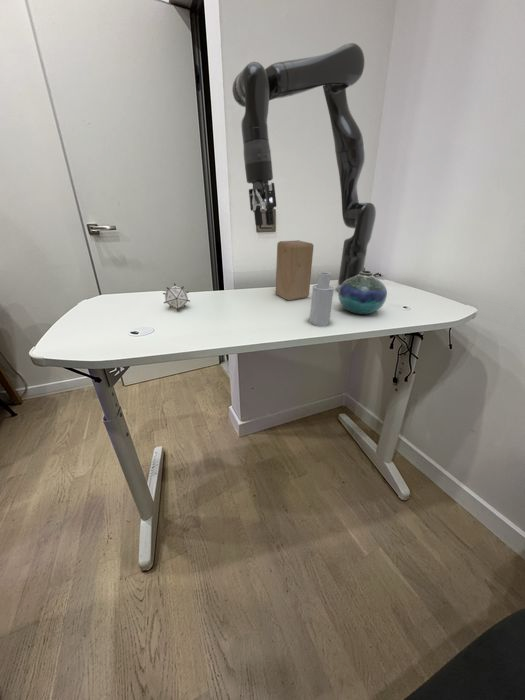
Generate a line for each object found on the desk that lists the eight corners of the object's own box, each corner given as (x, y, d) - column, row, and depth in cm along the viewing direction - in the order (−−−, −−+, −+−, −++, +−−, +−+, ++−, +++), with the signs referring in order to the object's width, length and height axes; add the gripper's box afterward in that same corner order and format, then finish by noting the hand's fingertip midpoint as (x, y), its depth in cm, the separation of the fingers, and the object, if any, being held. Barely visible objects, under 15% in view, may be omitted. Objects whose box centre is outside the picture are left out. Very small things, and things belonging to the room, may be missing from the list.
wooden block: (287, 301, 108) (291, 244, 98) (274, 294, 115) (276, 241, 106) (309, 298, 112) (314, 243, 102) (295, 291, 120) (299, 239, 110)
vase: (365, 302, 108) (372, 266, 102) (392, 317, 95) (402, 276, 89) (328, 305, 104) (333, 267, 98) (351, 321, 91) (358, 278, 85)
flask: (319, 317, 93) (325, 270, 87) (333, 323, 89) (340, 274, 82) (305, 320, 91) (309, 272, 84) (318, 327, 86) (324, 276, 79)
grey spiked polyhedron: (185, 318, 100) (199, 297, 96) (162, 316, 94) (177, 293, 89) (175, 300, 104) (189, 279, 99) (153, 296, 97) (167, 274, 93)
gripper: (281, 155, 76) (286, 223, 82) (260, 166, 88) (266, 224, 95) (254, 157, 73) (261, 226, 80) (237, 167, 85) (245, 227, 92)
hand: (264, 225), depth 87 cm, fingers open, 8 cm apart
